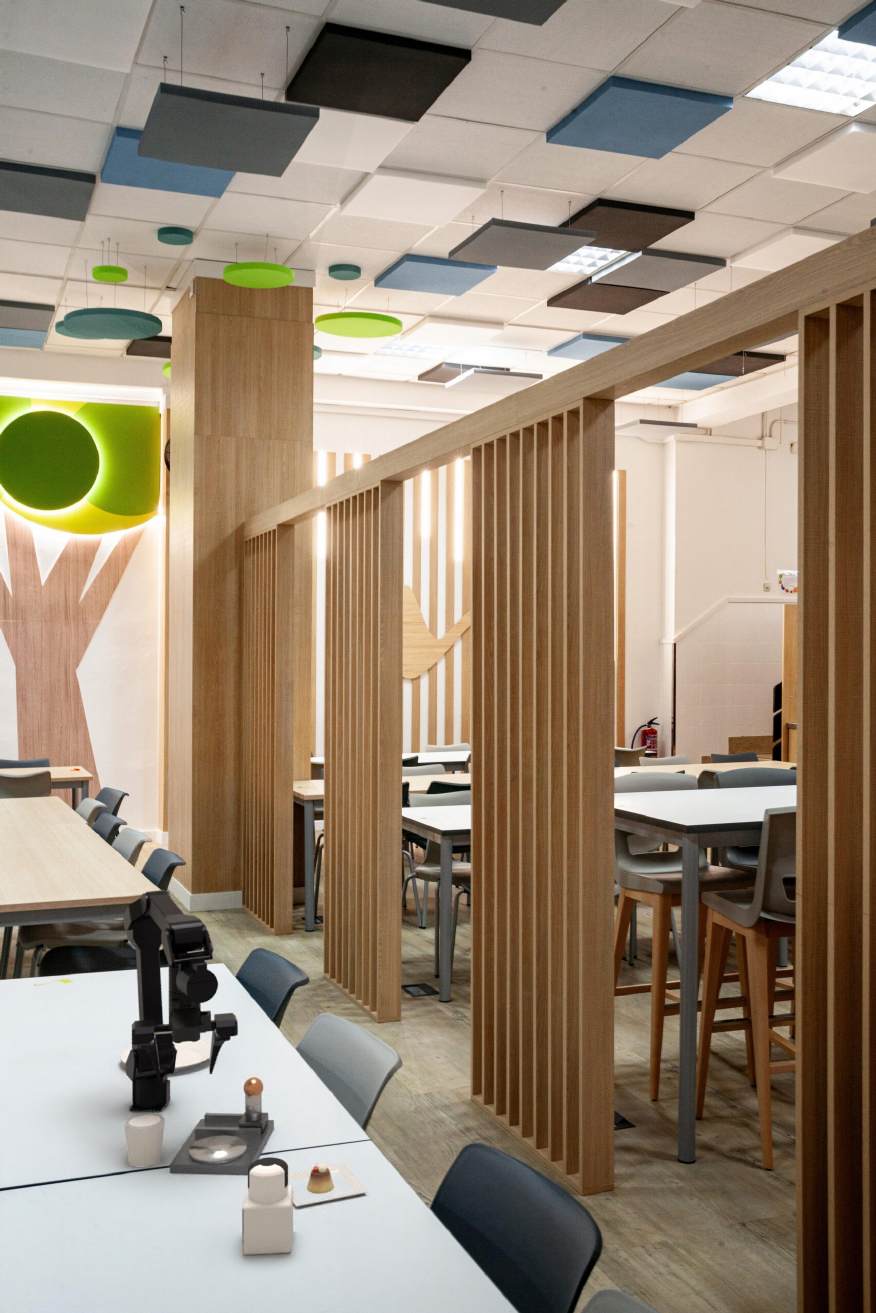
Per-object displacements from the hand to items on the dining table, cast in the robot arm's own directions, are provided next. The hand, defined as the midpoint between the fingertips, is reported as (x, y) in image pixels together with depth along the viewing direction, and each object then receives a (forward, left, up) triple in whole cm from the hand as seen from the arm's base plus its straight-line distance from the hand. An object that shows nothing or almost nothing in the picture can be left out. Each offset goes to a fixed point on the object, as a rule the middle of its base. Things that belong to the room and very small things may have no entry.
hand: (185, 1075), depth 206 cm
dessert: (+27, -15, -14) cm, 34 cm away
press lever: (+11, +5, -11) cm, 17 cm away
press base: (+7, -1, -13) cm, 15 cm away
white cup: (-6, -6, -13) cm, 15 cm away
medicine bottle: (+22, -34, -13) cm, 43 cm away
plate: (-17, +45, -13) cm, 50 cm away
